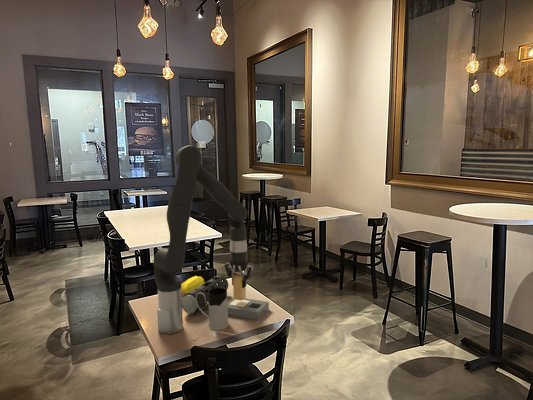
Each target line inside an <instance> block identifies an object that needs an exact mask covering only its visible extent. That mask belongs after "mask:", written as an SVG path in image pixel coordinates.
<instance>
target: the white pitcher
mask: <svg viewBox="0 0 533 400" xmlns="http://www.w3.org/2000/svg"><path fill="white" fill-rule="evenodd" d="M198 294H202V295H203V296H204V298H205V302H206V303H207V305H208V314H206V313H205V312H204V311H203V310H202V309H200V307H199V305H198V303H197V294H196V298H195V299H196V304H197V306H198V308H199V310H200V312H201V313H202V314H203V315H204V316H205V317H206V318H207V319H208V327H209V330H211V331H213V332H214V331H215V332H218V331H220V330H223V329H226V328H228V327H229V325H230V323H229V315H228V304H229V302H228V300H229V299H228V289H227V290H226V289H224V288H214V289H211V290H209V302H207V301H206V296H205V295H204V294H203V293H201V292H200V293H198Z"/></svg>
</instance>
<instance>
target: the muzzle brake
mask: <svg viewBox="0 0 533 400" xmlns="http://www.w3.org/2000/svg"><path fill="white" fill-rule="evenodd" d="M214 288H224V289H226V290H227V291H228V289H229V281H228V279H227V278H226V276H224V275H221V274H217V275H215V276H213V277H212V278H211V279H209V280H207V281H204V284H202V285H201V286H199V287H197V288H196V289H194V290H191V291H189V292H188V293H186V294H185V295H184V296H182V311H183V312H185V313H186V314H190V315H191V314H196V313H198V312H199V311H200V310H199V308H198V306H197V304H196V299H195V298H196V294H197V303H198V305H199V307H200V309H201V310H202V309H203V308H205V307H206V306H207V305H208V304H207V303H206V302H205V298H204V296H203V295H202V294H198V293H200V292H201V293H203V294H204V295H205V296H206V301H207V302H209V290H211V289H214ZM200 312H201V311H200Z"/></svg>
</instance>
